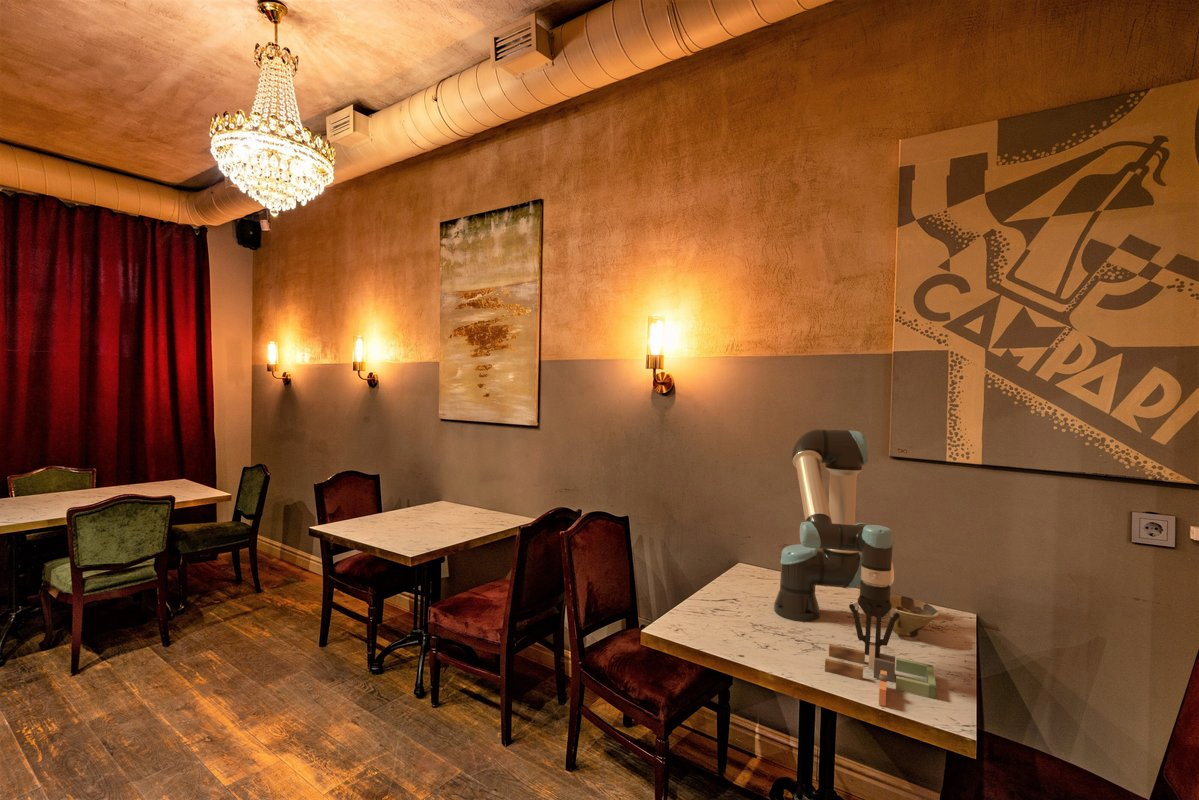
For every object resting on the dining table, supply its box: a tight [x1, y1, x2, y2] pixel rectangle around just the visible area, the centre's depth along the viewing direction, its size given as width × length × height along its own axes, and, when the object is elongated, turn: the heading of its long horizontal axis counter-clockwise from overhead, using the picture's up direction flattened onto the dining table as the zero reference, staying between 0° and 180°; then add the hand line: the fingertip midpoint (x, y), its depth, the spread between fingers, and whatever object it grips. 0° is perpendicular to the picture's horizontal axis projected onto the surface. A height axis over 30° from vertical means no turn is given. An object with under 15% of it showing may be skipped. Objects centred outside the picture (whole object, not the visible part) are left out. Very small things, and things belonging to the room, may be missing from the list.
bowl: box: [885, 594, 941, 638], centre depth 186 cm, size 18×18×10 cm
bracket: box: [895, 657, 937, 700], centre depth 153 cm, size 9×14×3 cm, turn 152°
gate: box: [878, 670, 889, 707], centre depth 146 cm, size 2×11×5 cm, turn 152°
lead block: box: [873, 652, 896, 683], centre depth 156 cm, size 5×5×5 cm
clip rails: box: [824, 643, 866, 681], centre depth 161 cm, size 10×12×3 cm
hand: (871, 667), depth 158 cm, fingers closed
